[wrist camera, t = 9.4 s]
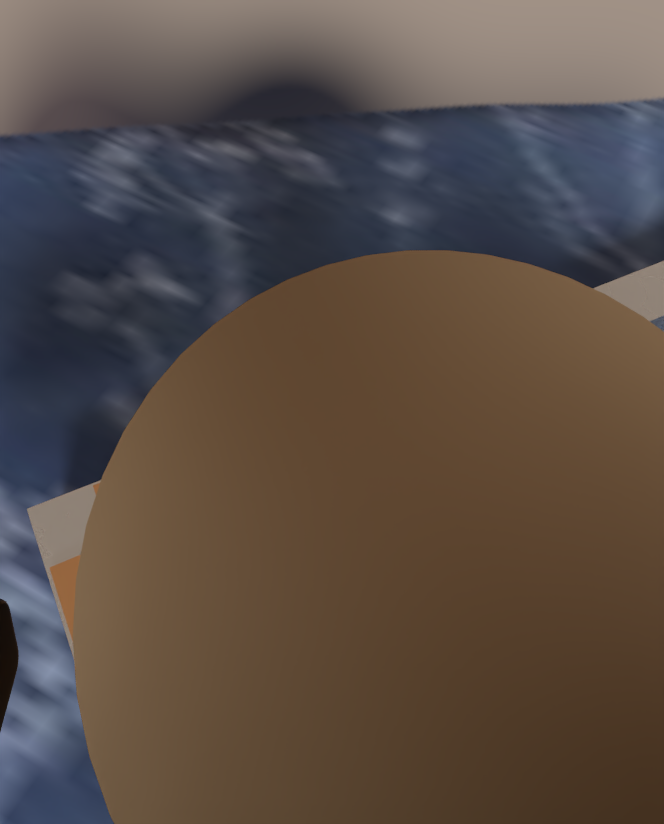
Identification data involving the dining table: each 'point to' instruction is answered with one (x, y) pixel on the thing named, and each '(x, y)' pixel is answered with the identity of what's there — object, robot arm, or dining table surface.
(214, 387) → the wooden peg
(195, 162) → the dining table surface
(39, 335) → the dining table surface
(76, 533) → the compartment tray
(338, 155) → the dining table surface
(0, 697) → the robot arm
